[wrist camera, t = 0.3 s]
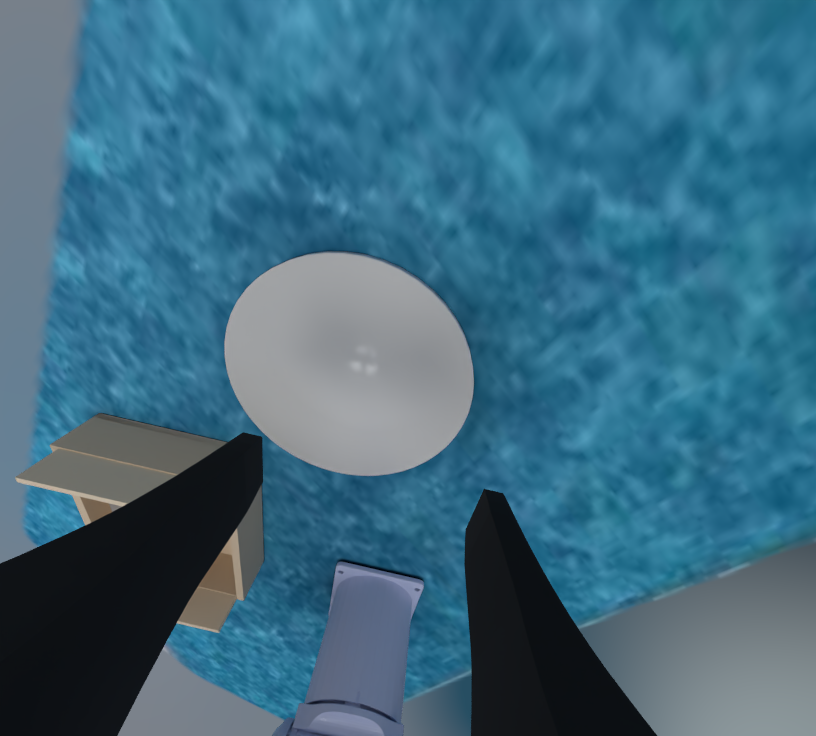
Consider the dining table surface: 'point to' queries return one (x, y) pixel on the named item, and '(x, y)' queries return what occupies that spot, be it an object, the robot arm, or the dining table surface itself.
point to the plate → (349, 363)
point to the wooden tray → (140, 473)
